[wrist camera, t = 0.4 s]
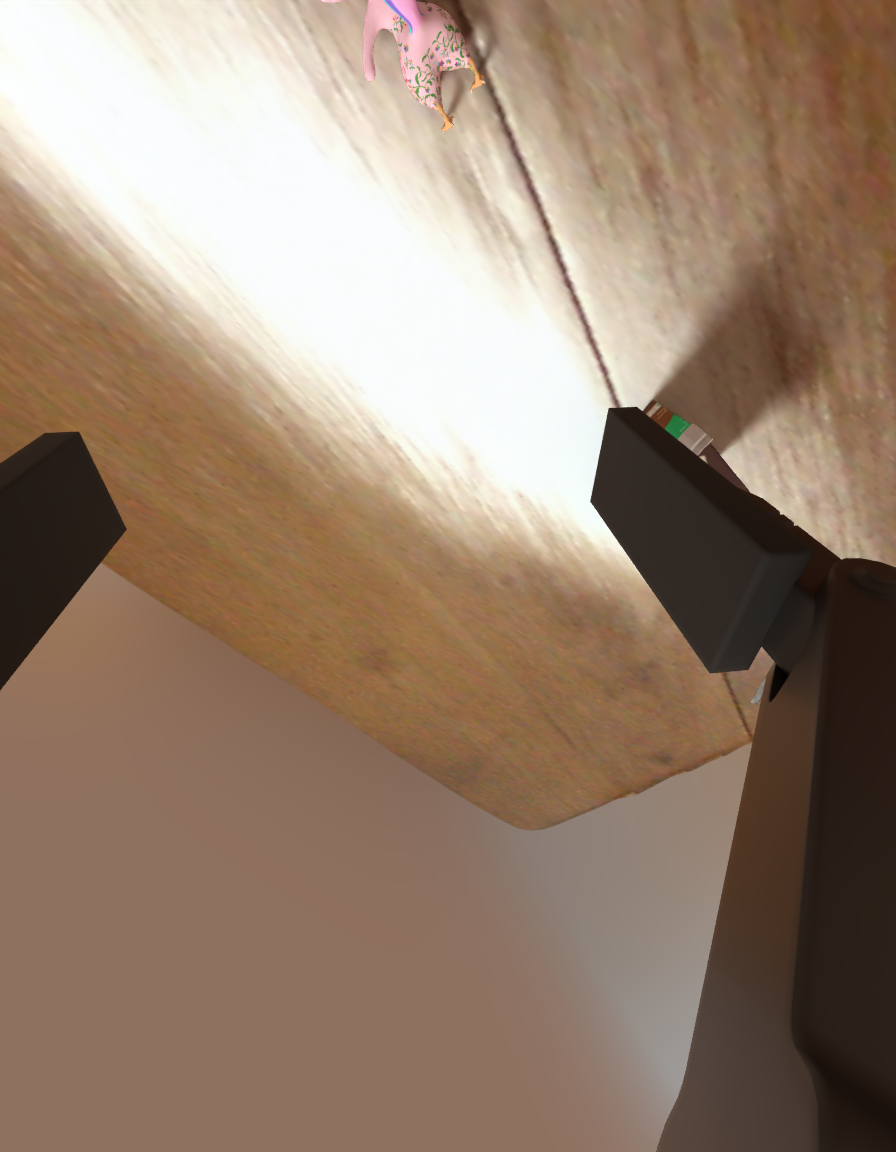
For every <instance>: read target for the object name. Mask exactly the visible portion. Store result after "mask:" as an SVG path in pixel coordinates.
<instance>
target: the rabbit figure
mask: <svg viewBox="0 0 896 1152" xmlns="http://www.w3.org/2000/svg"><path fill="white" fill-rule="evenodd" d="M321 1H323V2H329V3H334V2H339V1H342V0H321ZM383 28H384V29H387V30H389V31H390V32H391V33H392V34H393V35H394V37H395V39H396V41H397V45H398V51H399V57H400V62H401V67H402V72H403V75H404V79H405V81H406V84H407V86H408V88H409V90H410V91H411V93H412V94H413V96H414V97H415V98H416V99H417V101H419V102H420V103H421V104H423V105H426V106H428V107H431V108H433V109H436V110H438V111H439V112H440V113H441V114H442V116H443V118H444V120H445V122H444V126H443V128H442V131H443V133H444V131H446V130H448V129H449V128H452V127H455V126H454V124H453V123H452V118H455V117H454V116H451V117H448V116H447V115H446V113H445V112H444V110H443V106H442V98H441V81H440V74H441V72H442V71H452V70H455V69H458V68H469V69H470V70H471V71H472V72H473V73H474V76H475V78H474V83H473V84H472V87H471V93H472V89H473V88H476V87H478V86H480V85H482V84H483V83H485V81H484V80H482V79H483V78H484V77H483V75H482V74H481V73H480V74H479V72H478V71H477V70H476V68H475V64H474V61H473V59H472V58H471V56H470V53H469V50H468V48H467V45H466V43H465V40H464V38H463V36H462V34H461V32H460V30H459V28H458V27H457V25H456V23H455V22H454V20H453V18H452V17H451V16H450V15H449V14H448V12H446V11H445V10H444V9H442V8H441V7H439V6H437V5H435V4H432V3H427V2H418V1H417V0H368V6H367V11H366V15H365V22H364V33H363V59H364V71H365V76H366V78H367V80H368V81H373V80H374V78H375V66H374V61H373V47H374V42H375V38H376V35H377V33H378V32H379V30H380V29H383Z"/></svg>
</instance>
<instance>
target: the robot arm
mask: <svg viewBox="0 0 896 1152" xmlns="http://www.w3.org/2000/svg"><path fill="white" fill-rule="evenodd" d="M590 502H591V503H592V505H593V506H594V507H595V509H596V510H597V512H598V513H599V515H600V516H601V518H602V519H603V520H604V522H605V523H606V525H607V526H608V528H609V529H610V530H611V532H612V533H613V535H614V536H615V538H616V539H617V541H618V542H619V543H620V545H621V546H622V548H623V549H624V551H625V552H626V553H627V555H628V556H629V558H630V559H631V561H632V562H633V564H634V565H635V566H636V568H637V569H638V571H639V572H640V574H641V575H642V577H643V578H644V579H645V581H646V582H647V584H648V585H649V587H650V588H651V589H652V591H653V592H654V594H655V595H656V597H657V598H658V600H659V601H660V602H661V604H662V605H663V607H664V608H665V610H666V611H667V612H668V614H669V615H670V617H671V618H672V620H673V621H674V623H675V624H676V625H677V627H678V628H679V630H680V631H681V633H682V634H683V635H684V637H685V638H686V640H687V641H688V643H689V644H690V646H691V647H692V648H693V650H694V651H695V653H696V654H697V656H698V657H699V659H700V660H701V661H702V663H703V664H704V666H705V667H706V669H707V670H708V671H709V673H719V672H730V671H741V670H748V669H749V668H750V666H751V664H752V662H753V660H754V659H755V657H756V655H757V653H758V651H759V650H760V648H761V646H762V647H763V649H764V650H765V651H766V652H767V653H768V654H769V656H770V657H771V658H772V659H773V660H774V661H775V662H774V664H773V665H772V667H771V669H770V670H769V672H768V674H767V675H766V677H765V679H764V680H763V682H762V684H761V685H760V687H759V689H758V690H757V692H756V694H755V695H754V697H753V699H752V700H751V703H754V704H756V705H757V704H758V703H759V701H760V700H761V704H760V709H759V714H758V719H757V724H756V729H755V733H754V738H753V743H752V748H751V753H750V758H749V763H748V768H747V773H746V778H745V783H744V788H743V792H742V797H741V803H740V807H739V812H738V817H737V822H736V827H735V832H734V837H733V842H732V847H731V852H730V857H729V862H728V866H727V871H726V876H725V881H724V886H723V891H722V895H721V900H720V905H719V910H718V915H717V920H716V925H715V930H714V935H713V940H712V945H711V950H710V954H709V960H708V964H707V970H706V974H705V980H704V984H703V989H702V994H701V999H700V1004H699V1008H698V1013H697V1019H696V1023H695V1028H694V1033H693V1038H692V1043H691V1048H690V1053H689V1058H688V1062H687V1067H686V1072H685V1076H684V1080H683V1084H682V1087H681V1090H680V1093H679V1096H678V1098H677V1100H676V1102H675V1105H674V1107H673V1109H672V1111H671V1113H670V1115H669V1117H668V1119H667V1121H666V1123H665V1126H664V1129H663V1132H662V1135H661V1138H660V1141H659V1144H658V1147H657V1151H656V1152H896V567H893V566H890V565H887V564H884V563H881V562H877V561H872V560H867V559H861V558H845V559H842V560H841V559H840V558H839V557H837V556H836V555H835V554H834V553H832V552H831V551H830V550H828V549H827V548H826V547H825V546H823V545H822V544H821V543H819V542H818V541H817V540H816V539H814V538H813V537H812V536H810V535H809V534H808V533H807V532H805V531H804V530H803V529H801V528H800V527H799V526H794V522H792V521H791V520H790V519H788V518H787V517H786V516H785V515H780V512H779V511H778V510H777V509H776V508H774V507H773V506H772V505H770V504H769V503H768V502H767V501H765V500H764V499H763V498H760V497H758V496H756V495H754V494H752V493H750V492H747V491H745V490H743V489H741V488H737V487H736V486H735V485H734V484H732V483H731V482H730V481H729V480H727V479H726V478H725V477H724V476H722V475H721V474H720V473H719V472H717V471H716V470H715V469H714V468H712V467H711V466H710V465H709V464H707V463H706V462H705V461H704V460H702V459H701V458H700V457H699V456H697V455H696V454H695V453H694V452H692V451H691V450H690V449H689V448H687V447H686V446H685V445H684V444H683V443H681V442H680V441H679V440H678V439H676V438H675V437H674V436H673V435H671V434H670V433H669V432H668V431H666V430H665V429H664V428H663V427H661V426H660V425H659V424H658V423H656V422H655V421H654V420H653V419H651V418H650V417H649V416H648V415H646V414H645V413H644V412H643V411H641V410H640V409H639V408H638V407H624V408H609V409H608V414H607V419H606V425H605V430H604V435H603V440H602V445H601V450H600V455H599V460H598V465H597V470H596V475H595V481H594V486H593V491H592V496H591V501H590ZM126 530H127V529H126V527H125V525H124V523H123V521H122V519H121V517H120V515H119V513H118V511H117V509H116V506H115V504H114V502H113V500H112V498H111V496H110V494H109V492H108V490H107V488H106V486H105V484H104V482H103V480H102V478H101V476H100V474H99V472H98V470H97V468H96V466H95V464H94V462H93V459H92V457H91V455H90V453H89V451H88V449H87V447H86V445H85V443H84V441H83V439H82V437H81V435H80V433H79V432H59V433H44V434H43V435H42V436H40V437H39V438H37V439H36V440H34V441H33V442H31V443H30V444H28V445H27V446H25V447H24V448H22V449H21V450H19V451H18V452H17V453H15V454H14V455H12V456H11V457H9V458H8V459H6V460H5V461H3V462H2V463H0V690H1V689H2V687H3V686H4V685H5V684H6V682H7V681H8V680H9V678H10V677H11V676H12V675H13V673H14V672H15V671H16V670H17V668H18V667H19V666H20V665H21V663H22V662H23V661H24V659H25V658H26V657H27V656H28V654H29V653H30V652H31V651H32V649H33V648H34V647H35V645H36V644H37V643H38V642H39V640H40V639H41V638H42V637H43V635H44V634H45V633H46V631H47V630H48V629H49V628H50V626H51V625H52V624H53V623H54V621H55V620H56V619H57V617H58V616H59V615H60V613H61V612H62V611H63V610H64V609H65V607H66V606H67V605H68V603H69V602H70V601H71V600H72V598H73V597H74V596H75V595H76V593H77V592H78V591H79V589H80V588H81V587H82V585H83V584H84V583H85V582H86V581H87V579H88V578H89V577H90V575H91V574H92V573H93V572H94V570H95V569H96V568H97V566H98V565H99V564H100V563H101V561H102V560H103V559H104V558H105V556H106V555H107V554H108V552H109V551H110V550H111V549H112V547H113V546H114V545H115V544H116V542H117V541H118V540H119V538H120V537H121V536H122V535H123V533H124V532H125V531H126ZM761 698H762V699H761Z"/></svg>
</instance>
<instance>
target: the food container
mask: <svg viewBox="0 0 896 1152" xmlns="http://www.w3.org/2000/svg"><path fill="white" fill-rule="evenodd" d="M643 412H644V413H645V414H646V415H648V416H649V417H650V418H651V419H653V420H654V421H655V422H656V423H658V424H659V425H660V426H661V427H663V428H664V429H665V430H666V431H668V432H669V433H670V434H671V435H673V436H674V437H675V438H676V439H678V440H679V441H680V442H681V443H683V444H684V445H685V446H686V447H687V448H689V449H690V450H691V451H692V452H694V453H695V454H696V455H697V456H699V457H700V458H701V459H702V460H704V461H705V462H706V463H707V464H709V465H710V466H711V467H712V468H714V469H715V470H716V471H717V472H719V473H720V474H721V475H722V476H724V477H725V478H726V479H727V480H729V481H730V482H731V483H732V484H734V485H735V486H736V487H737V488H741V489H743V490H745V491H747V492H749V490H748V489H747V488H746V486H745V485H744V484H743V483H742V481H741V480H740V479H739V478H738V477H737V476H736V474H735V473H734V472H733V471H732V469H731V468H730V467H729V466H728V464H727V463H726V462H725V461H724V459H723V458H722V457H721V456H720V454H719V453H718V452H717V451H716V449H715V448H714V447H713V446H712V445H711V443H710V442H711V441H712V440H713V439H712V438H711V437H710V436H708V435H707V434H706V433H705V432H704V431H703V430H702V429H700V428H699V427H698V426H697V425H695V424H694V423H693V424H690V423H688V422H687V421H685V420H684V419H682V418H681V417H679V416H678V415H676V414H674V413H673V412H671V411H670V410H668V409H667V408H665V407H664V406H662V405H661V404H659V403H658V402H656V401H655V400H653V401H652V402H651V404H650V405H649V406H648V407H647V408H646V409H645V410H644V411H643Z"/></svg>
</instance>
